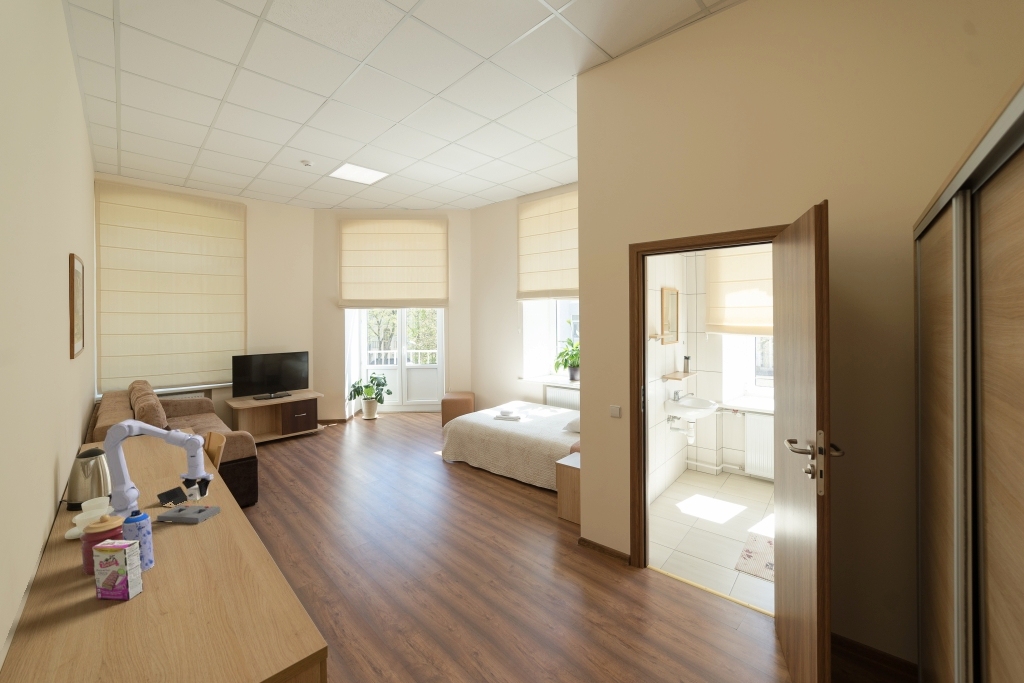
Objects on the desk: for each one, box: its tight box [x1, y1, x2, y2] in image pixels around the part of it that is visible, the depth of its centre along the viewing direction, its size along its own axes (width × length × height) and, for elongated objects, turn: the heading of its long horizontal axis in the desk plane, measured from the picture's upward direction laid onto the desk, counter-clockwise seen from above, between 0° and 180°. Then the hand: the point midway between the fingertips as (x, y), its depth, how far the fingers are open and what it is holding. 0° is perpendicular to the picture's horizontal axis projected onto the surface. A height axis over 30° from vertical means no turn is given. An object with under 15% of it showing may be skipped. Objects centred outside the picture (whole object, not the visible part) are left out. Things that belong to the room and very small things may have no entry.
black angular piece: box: [156, 486, 188, 506], centre depth 210 cm, size 12×7×10 cm
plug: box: [186, 484, 209, 504], centre depth 191 cm, size 7×5×6 cm
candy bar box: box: [92, 540, 144, 601], centre depth 136 cm, size 11×5×16 cm, turn 84°
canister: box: [79, 513, 126, 575], centre depth 155 cm, size 13×13×18 cm
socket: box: [156, 504, 221, 524], centre depth 193 cm, size 11×20×3 cm, turn 80°
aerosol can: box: [122, 509, 156, 573], centre depth 152 cm, size 8×8×20 cm
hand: (198, 495), depth 191 cm, fingers closed on plug, 5 cm apart
